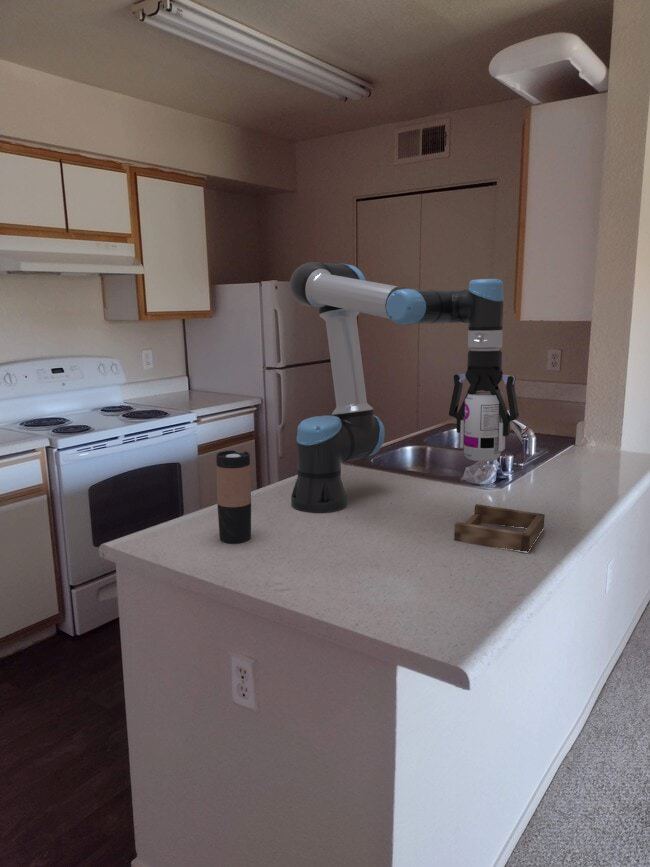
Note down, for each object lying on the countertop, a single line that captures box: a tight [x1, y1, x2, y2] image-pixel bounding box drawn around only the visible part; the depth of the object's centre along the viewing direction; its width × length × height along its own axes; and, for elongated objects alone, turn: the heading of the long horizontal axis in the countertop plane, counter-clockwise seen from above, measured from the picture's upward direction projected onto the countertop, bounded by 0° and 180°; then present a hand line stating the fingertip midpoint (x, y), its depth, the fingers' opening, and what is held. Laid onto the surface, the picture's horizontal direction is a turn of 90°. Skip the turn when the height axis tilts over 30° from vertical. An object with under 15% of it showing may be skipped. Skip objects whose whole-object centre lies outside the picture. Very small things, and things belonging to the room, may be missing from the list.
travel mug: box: [215, 449, 252, 545], centre depth 147 cm, size 8×8×20 cm
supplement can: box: [463, 391, 502, 462], centre depth 148 cm, size 8×8×15 cm
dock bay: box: [453, 503, 546, 552], centre depth 151 cm, size 16×17×4 cm
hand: (482, 448), depth 149 cm, fingers closed on supplement can, 8 cm apart
